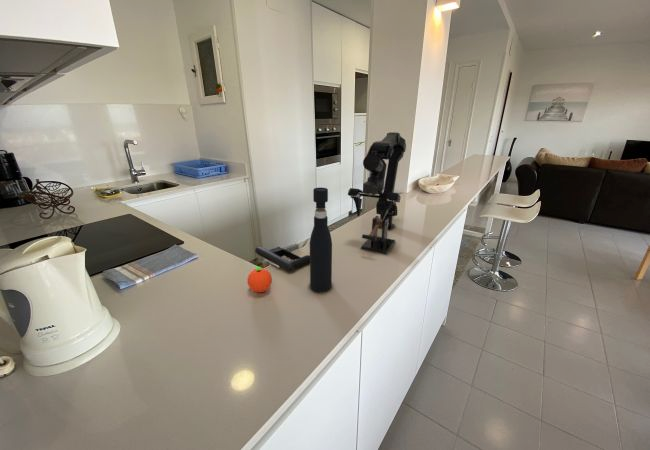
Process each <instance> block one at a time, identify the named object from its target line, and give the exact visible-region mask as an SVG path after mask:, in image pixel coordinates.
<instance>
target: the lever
mask: <svg viewBox="0 0 650 450" xmlns="http://www.w3.org/2000/svg"><path fill="white" fill-rule="evenodd" d="M382 224H383V220H382V219H381V218H380V217H379V219H378V220H377V222H376V226H375V227H374V229H373V230H372V229H371V231H370V233H369V234H365V233H364V234H363V233H362V235H361V238H362V239H364V240H368V239H369V240H373V241H376V240H377V237H378V236H377V237H374V236H373V235H374V234H375V233H376V231H377V230H378V231H379V229H382ZM379 227H381V228H379Z"/></svg>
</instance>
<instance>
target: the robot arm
mask: <svg viewBox="0 0 650 450" xmlns="http://www.w3.org/2000/svg"><path fill="white" fill-rule="evenodd" d="M406 150H407V142H406V139H405V138H403V137H402V136H401V134H400V132H396V131H395V132H394V131H393V132H391V131H390V132H387V133H386V136H384V138H382V139H381V140H377V141H374V142H372V143H371V144H370V147H369V149H368V151H367V154H366V156H365V157H364V158H363V160H362V166H363V167H364V169H365V170H366V171H368V172H369V175H368V177H367V180H366V181H365V182H363V183H362V189H360V188H353V187H350V188H349V189H348V191H347V196H349V197H350V199H352V200H353V201H354V204H355V209H356V216H357V217H358V218H359V217H360V215H361V211H362V205H363V203H362V202H363V198H362V197H366V198H375V199H378V200H377V201H376V204H375V211H376V213H375V214H376V215H379V218H381V219H382V220H384V219H385V218H386V217H387V218H389V220H388V230H391V229H393V227H394V226H395V224H394V223H393V218H395V217H396V216H398V213H399V212H398V206H397V203H401V195H400V193H398V192H395V186H396V180H397V173H398V169H399V164H400V163H399V162H400V161H401V160H403V159H402V158H403V157H404V154H405V153H406ZM386 161H388V162H387V163H386ZM378 229H382V228H381V227H379V228H378Z"/></svg>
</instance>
